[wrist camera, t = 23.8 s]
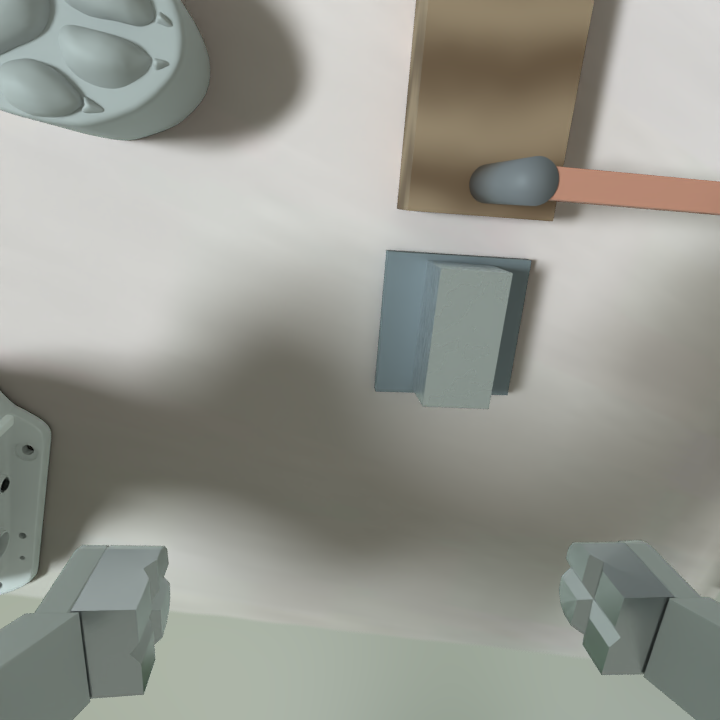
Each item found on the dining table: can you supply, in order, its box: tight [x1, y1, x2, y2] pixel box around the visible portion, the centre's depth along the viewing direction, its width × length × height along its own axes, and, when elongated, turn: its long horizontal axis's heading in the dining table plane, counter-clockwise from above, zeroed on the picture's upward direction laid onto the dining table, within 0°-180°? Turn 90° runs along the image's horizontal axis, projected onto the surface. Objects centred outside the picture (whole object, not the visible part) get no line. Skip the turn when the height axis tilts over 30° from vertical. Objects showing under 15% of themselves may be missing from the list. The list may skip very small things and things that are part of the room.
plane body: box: [397, 0, 594, 221], centre depth 32 cm, size 17×10×4 cm, turn 176°
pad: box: [374, 250, 531, 395], centre depth 39 cm, size 11×11×1 cm
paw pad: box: [0, 0, 210, 140], centre depth 27 cm, size 10×13×9 cm
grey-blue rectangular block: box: [411, 260, 513, 409], centre depth 37 cm, size 10×5×4 cm, turn 175°
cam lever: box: [469, 156, 720, 215], centre depth 29 cm, size 15×2×7 cm, turn 86°
